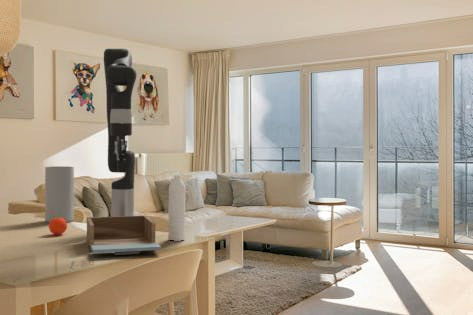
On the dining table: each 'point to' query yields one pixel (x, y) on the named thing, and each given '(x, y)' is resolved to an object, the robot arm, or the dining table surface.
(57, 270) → the dining table surface
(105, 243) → the crate
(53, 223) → the clementine
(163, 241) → the dining table surface
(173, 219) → the water bottle
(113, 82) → the robot arm
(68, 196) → the cylinder vase
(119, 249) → the rectangular panel
